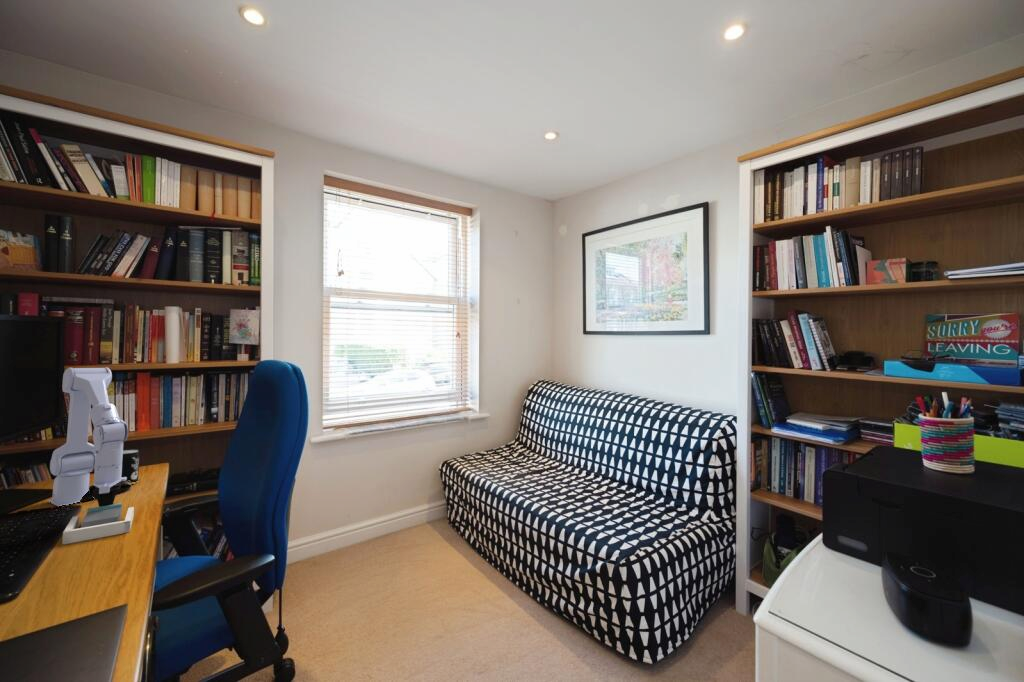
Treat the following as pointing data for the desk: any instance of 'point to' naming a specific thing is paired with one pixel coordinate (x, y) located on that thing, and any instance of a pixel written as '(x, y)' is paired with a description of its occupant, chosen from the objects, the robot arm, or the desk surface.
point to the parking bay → (96, 529)
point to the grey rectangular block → (102, 515)
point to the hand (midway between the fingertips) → (105, 511)
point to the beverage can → (130, 465)
